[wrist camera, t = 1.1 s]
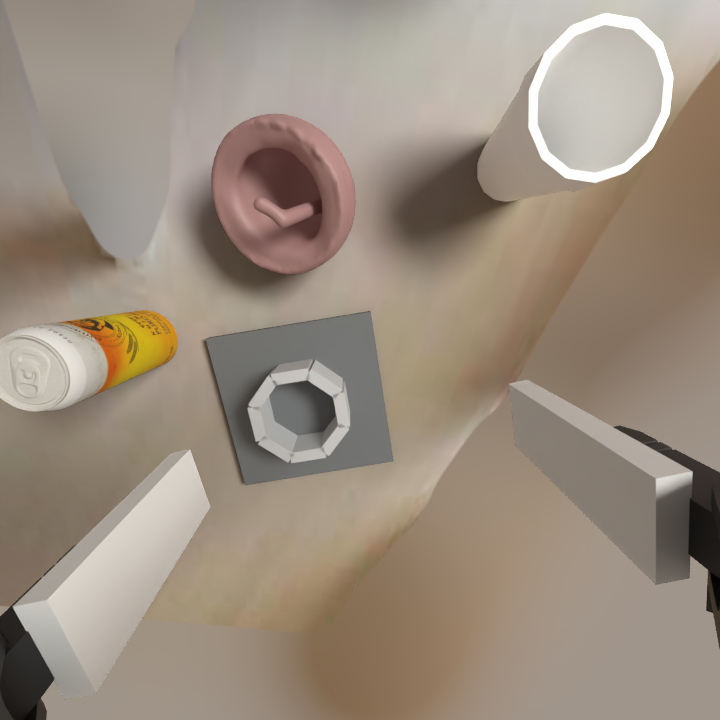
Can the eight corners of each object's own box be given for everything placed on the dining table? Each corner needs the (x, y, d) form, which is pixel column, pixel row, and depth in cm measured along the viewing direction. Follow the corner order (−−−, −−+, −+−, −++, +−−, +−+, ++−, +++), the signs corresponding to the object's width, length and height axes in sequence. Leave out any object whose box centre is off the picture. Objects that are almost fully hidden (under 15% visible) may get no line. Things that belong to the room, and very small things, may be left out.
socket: (209, 337, 37) (188, 346, 32) (370, 311, 37) (373, 315, 32) (247, 480, 41) (234, 507, 36) (392, 457, 41) (398, 480, 36)
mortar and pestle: (214, 226, 35) (151, 201, 24) (279, 121, 33) (242, 39, 21) (311, 297, 37) (294, 304, 25) (377, 201, 35) (391, 163, 23)
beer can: (184, 317, 37) (76, 341, 22) (177, 369, 38) (70, 425, 23) (127, 303, 36) (-23, 319, 22) (122, 357, 37) (-23, 406, 23)
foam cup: (499, 237, 36) (581, 213, 23) (442, 167, 34) (498, 100, 21) (571, 168, 34) (700, 103, 22) (516, 93, 33) (621, -26, 20)
